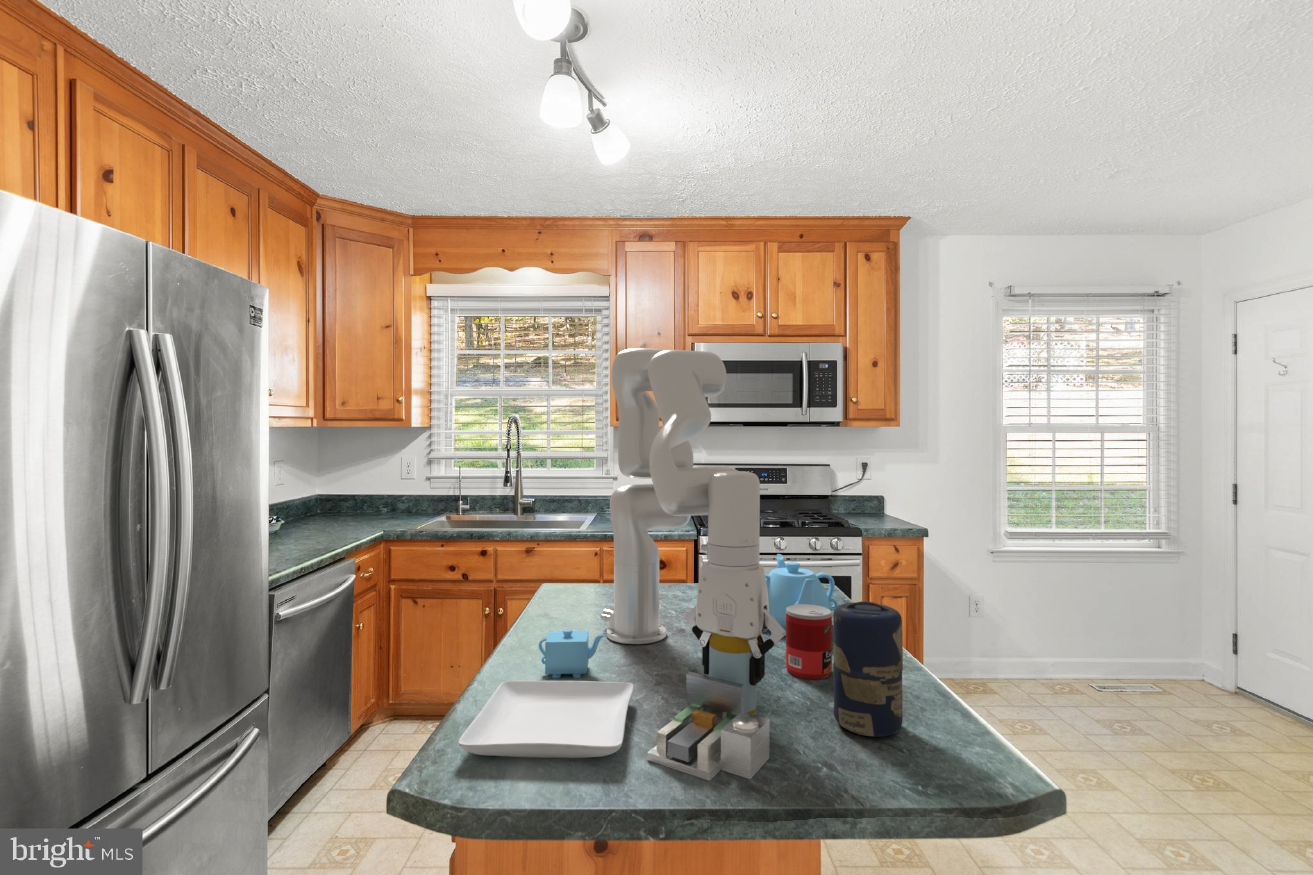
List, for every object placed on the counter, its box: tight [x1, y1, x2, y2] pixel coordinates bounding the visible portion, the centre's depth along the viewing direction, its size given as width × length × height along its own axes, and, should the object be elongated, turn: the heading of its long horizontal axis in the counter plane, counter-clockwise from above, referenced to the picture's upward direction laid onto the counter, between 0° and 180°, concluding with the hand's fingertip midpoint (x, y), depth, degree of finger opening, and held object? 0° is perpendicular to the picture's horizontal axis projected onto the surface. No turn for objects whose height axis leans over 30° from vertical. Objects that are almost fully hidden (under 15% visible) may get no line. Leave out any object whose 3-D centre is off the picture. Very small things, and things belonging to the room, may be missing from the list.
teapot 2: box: [765, 553, 839, 631], centre depth 137 cm, size 16×20×14 cm
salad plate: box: [457, 680, 635, 759], centre depth 88 cm, size 21×21×3 cm
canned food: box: [785, 604, 833, 680], centre depth 110 cm, size 8×8×11 cm
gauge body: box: [646, 703, 770, 782], centre depth 81 cm, size 13×11×5 cm
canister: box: [832, 600, 904, 738], centre depth 89 cm, size 10×10×18 cm
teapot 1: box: [538, 628, 607, 679], centre depth 109 cm, size 12×6×8 cm, turn 94°
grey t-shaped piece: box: [668, 671, 745, 762], centre depth 82 cm, size 8×11×7 cm
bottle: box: [708, 613, 758, 717], centre depth 91 cm, size 7×7×15 cm
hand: (732, 675), depth 91 cm, fingers closed on bottle, 6 cm apart
